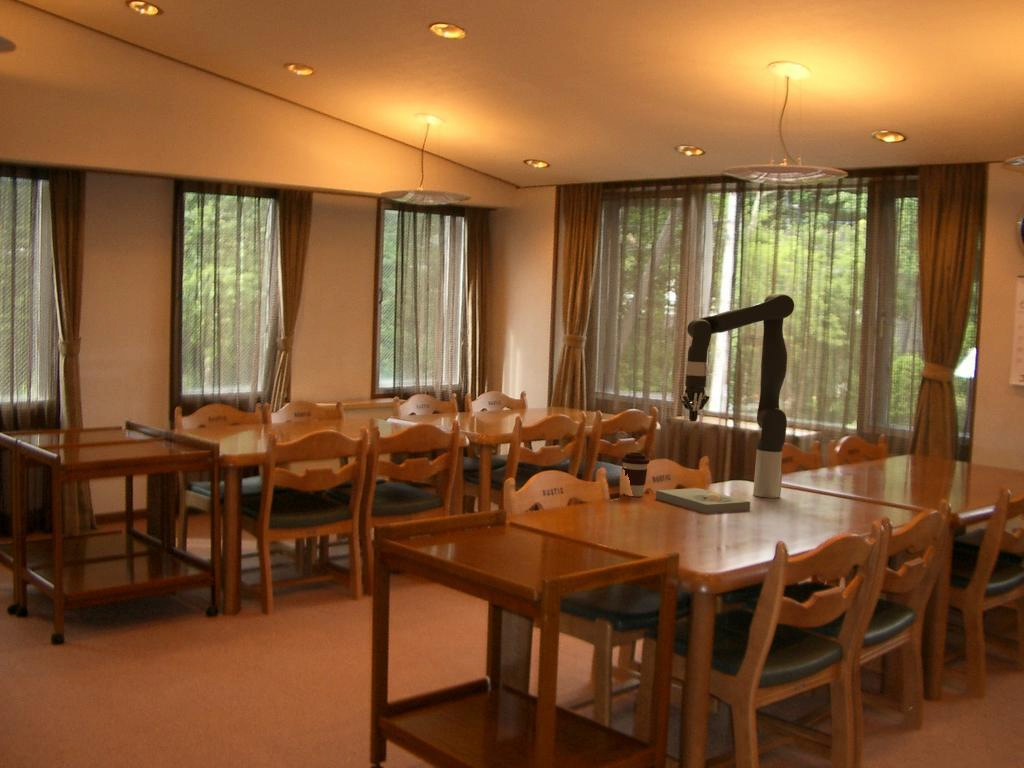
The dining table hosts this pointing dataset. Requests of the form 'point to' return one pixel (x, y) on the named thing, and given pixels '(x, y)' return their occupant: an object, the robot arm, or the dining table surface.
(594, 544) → the dining table surface
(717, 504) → the grey flat block
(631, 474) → the coffee cup
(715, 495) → the ball
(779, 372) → the robot arm
